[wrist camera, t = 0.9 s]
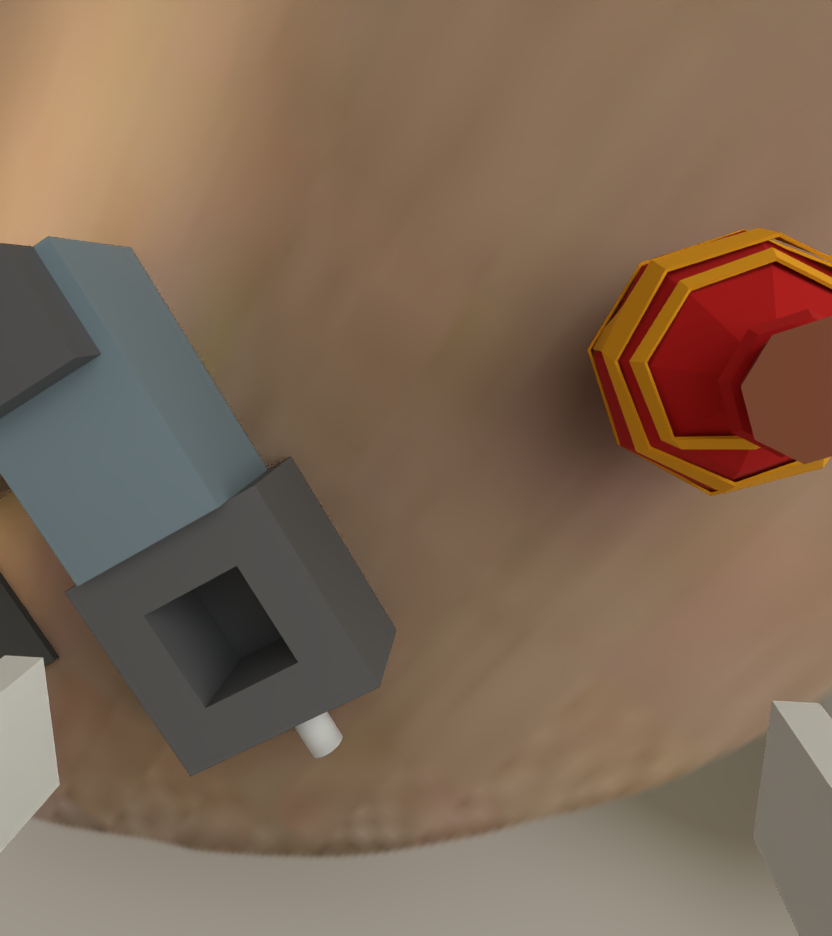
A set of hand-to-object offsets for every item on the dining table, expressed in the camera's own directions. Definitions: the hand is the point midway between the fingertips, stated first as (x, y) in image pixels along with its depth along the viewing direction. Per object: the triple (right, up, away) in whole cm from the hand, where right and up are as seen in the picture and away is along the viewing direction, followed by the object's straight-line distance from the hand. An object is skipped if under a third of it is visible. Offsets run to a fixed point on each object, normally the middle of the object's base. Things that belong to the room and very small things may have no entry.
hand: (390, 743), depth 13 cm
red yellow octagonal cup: (+13, +11, +22) cm, 28 cm away
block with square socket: (-11, +3, +26) cm, 28 cm away
